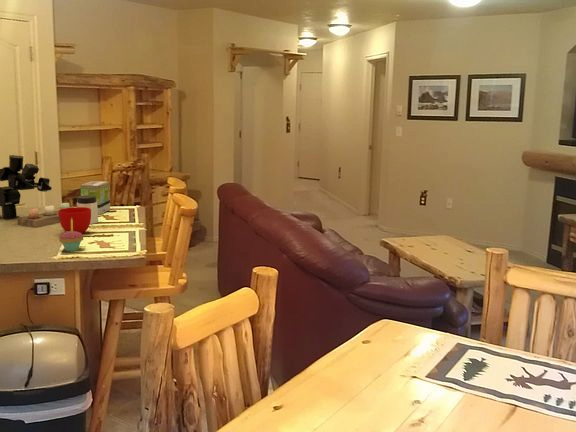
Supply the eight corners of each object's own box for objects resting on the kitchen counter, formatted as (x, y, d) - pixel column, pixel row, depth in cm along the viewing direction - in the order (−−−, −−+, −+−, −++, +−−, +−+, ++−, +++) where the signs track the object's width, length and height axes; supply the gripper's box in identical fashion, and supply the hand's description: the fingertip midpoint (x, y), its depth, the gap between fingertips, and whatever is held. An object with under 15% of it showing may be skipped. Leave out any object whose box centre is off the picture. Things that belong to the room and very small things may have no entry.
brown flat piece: (18, 224, 269) (17, 218, 268) (64, 215, 290) (63, 209, 289) (35, 227, 262) (34, 220, 262) (81, 218, 284) (80, 211, 283)
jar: (100, 223, 273) (99, 197, 270) (83, 225, 267) (81, 198, 265) (93, 220, 279) (91, 194, 277) (75, 222, 274) (74, 196, 272)
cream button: (43, 215, 275) (42, 206, 274) (50, 213, 278) (50, 205, 277) (49, 216, 273) (48, 207, 272) (56, 214, 276) (56, 206, 275)
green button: (59, 212, 282) (58, 203, 281) (66, 210, 285) (65, 202, 285) (64, 213, 280) (64, 204, 279) (71, 211, 283) (71, 203, 282)
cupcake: (63, 247, 229) (61, 216, 227) (86, 246, 230) (84, 216, 227) (57, 252, 221) (54, 220, 218) (80, 252, 221) (78, 220, 219)
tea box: (101, 215, 291) (100, 185, 288) (81, 215, 291) (79, 184, 289) (111, 209, 306) (109, 180, 303) (91, 209, 306) (89, 180, 303)
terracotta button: (27, 218, 268) (26, 209, 267) (34, 216, 271) (34, 208, 270) (32, 219, 266) (32, 210, 265) (40, 217, 269) (40, 208, 268)
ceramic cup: (79, 227, 264) (78, 204, 262) (97, 233, 252) (96, 210, 250) (50, 231, 255) (48, 208, 253) (68, 238, 243) (66, 214, 241)
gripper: (5, 160, 266) (29, 169, 259) (40, 164, 282) (63, 172, 275) (0, 184, 267) (23, 194, 260) (35, 187, 284) (58, 195, 277)
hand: (42, 188), depth 268 cm, fingers open, 9 cm apart
